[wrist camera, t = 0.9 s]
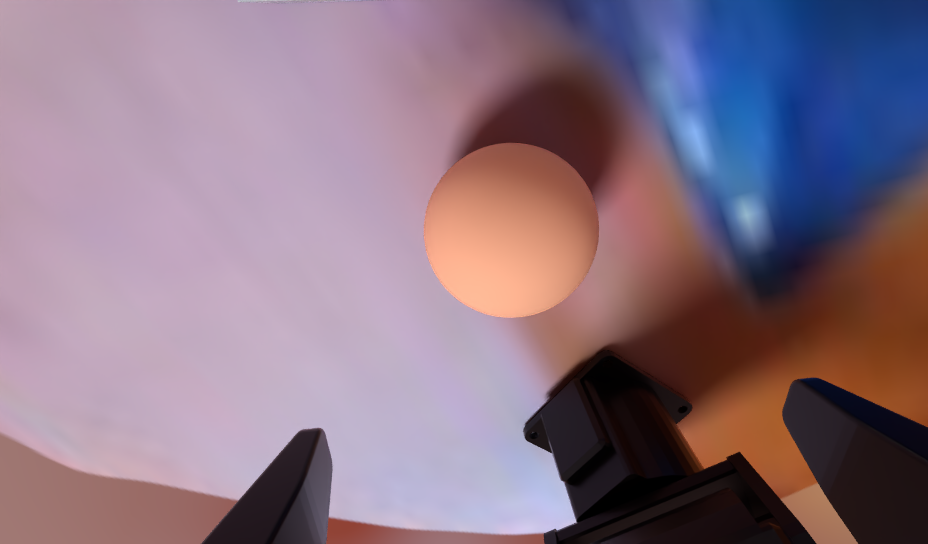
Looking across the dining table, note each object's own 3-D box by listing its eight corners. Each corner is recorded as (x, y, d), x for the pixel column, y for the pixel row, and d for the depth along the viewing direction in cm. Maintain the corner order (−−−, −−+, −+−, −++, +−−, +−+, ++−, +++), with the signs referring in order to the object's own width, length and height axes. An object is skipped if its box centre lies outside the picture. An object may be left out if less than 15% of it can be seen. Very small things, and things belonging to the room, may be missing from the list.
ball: (601, 183, 20) (667, 247, 15) (508, 291, 22) (537, 380, 17) (483, 92, 18) (512, 127, 13) (393, 219, 20) (385, 296, 15)
